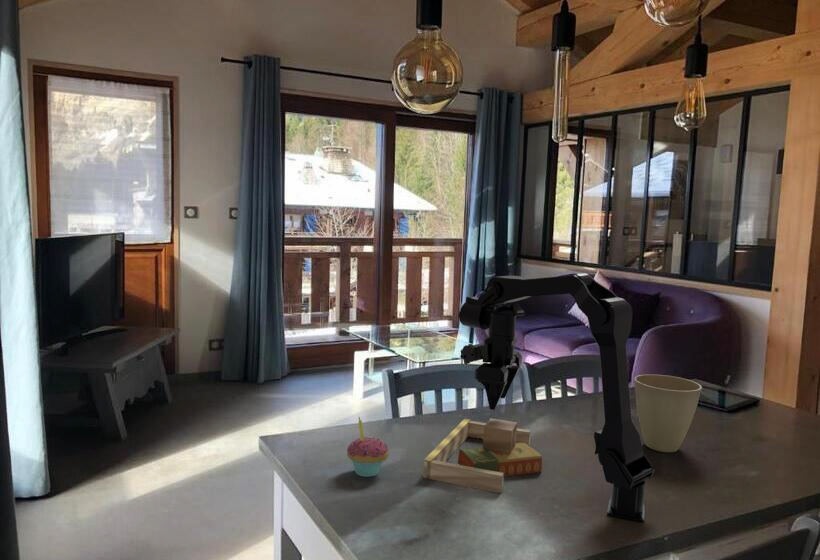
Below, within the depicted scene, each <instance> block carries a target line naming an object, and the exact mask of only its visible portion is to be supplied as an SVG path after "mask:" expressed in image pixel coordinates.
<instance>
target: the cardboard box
mask: <svg viewBox="0 0 820 560" xmlns="http://www.w3.org/2000/svg"><path fill="white" fill-rule="evenodd" d="M486 423H487V424H486V425H485V426H484V438H483V439H482V440H483V441H482V446H483V449H486V450H492V451H498V452H503V453H509V454H511V452H512V450H513V448H514V447H515V445H516V434H517V428H518V422H516V421H511V420H503V419H499V418H498V419H497V418H489V420H488V421H487V422H486Z"/></svg>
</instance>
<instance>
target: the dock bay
mask: <svg viewBox="0 0 820 560" xmlns="http://www.w3.org/2000/svg"><path fill="white" fill-rule="evenodd" d="M486 424H487V422H486V423H485V422H482V421H481V422H480V421H473V420H471V419H468V418H464V419H463V420H462V421H461V422H460V423H459V424H458V425H457V426H456V427H455V428H454V429H453V430H452V431H451V432H450V433H449V434H448V435H447V436H446V437H445V438H444V439H443V440H441V442H440V443H439V444H438V445H437V446H436V447H435V448H434V449H433V450H432V451H431V452H430V453H429V454H428V455H427V456H426V457H425V458H424V459H423V470H422V471H423V475H422V476H423V478H424V479H427V480H434V481H438V482H443V483H448V484H453V485H458V486H464V487H468V488H473V489H474V488H475V489H479V490H484V491H487V492H488V491H489V492H494V493H499V494H502V492H503V490H504V478H505V476H504V473H501V472H495V471H490V470H484V469H479V468H474V467H468V466H463V465H458V463H457V464H456V463H452V462H451V463H450V462H447V459H450V457H451V456H452V455H454V453H455V452H456V451H457V450H458V449H459V447H460V446H462V444H463V443H464V442H465V441H466V440H467V438H468V437H469V438H474V439H475V437H476V439H479V438H481V439H480V440H483V438H484V426H485V425H486ZM531 433H532V432H531V430H530V429H524V428H518V427H517V434H516V443H526V444H527V445H529V446H530V445H531ZM456 449H457V450H456Z"/></svg>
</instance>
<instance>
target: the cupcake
mask: <svg viewBox="0 0 820 560" xmlns="http://www.w3.org/2000/svg"><path fill="white" fill-rule="evenodd" d="M363 428H364V427H363V422H362V419H361V418H360V416H358V429H359V435H360V438H358V439H357V438H356V439H355V440H352V441H351V443H350V444H349V445H348V446H347V451H346V456H347V457H348V458H349V460H351V462H352V465H353V468H354V472H355V474H356V475H357V476H360V477H364V478H365V477H366V478H370V477H374V476H376V475H378V474H379V471H380V468H381V466H382V463H383V462H384V461H386V460H387V459H388V457H389V448H388V446H387V444H386V443H384V441H382V440H381V439H379V438H377V437H368V436H366V437H365V435H364V430H363Z"/></svg>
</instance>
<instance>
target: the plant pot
mask: <svg viewBox="0 0 820 560" xmlns="http://www.w3.org/2000/svg"><path fill="white" fill-rule="evenodd" d="M702 389H703V386H702V385H701V384H699V383H698V382H696V381H694V380H691V379H687V378H682V377H680V376H679V377H678V376H673V375H664V374H640V375H636V376H635V377H634V390H635V391H634V392H635V402H636V403H635V404H636V409H637V416H638V420H639V426H640V430H641V434H642V437H643V440H644V444H645V446H646V447H647V448H648V449H652V450H655V451H657V452H662V453H674V452H677V451H678V450H679V448H680V447H681V445H682V444H683V441H684V439H685V437H686V435H687V433H688V432H689V428H690V427H691V424H692V422H693V418H694V416H695V413H696V410H697V407H698V403H699V399H700V395H701V391H702Z"/></svg>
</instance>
